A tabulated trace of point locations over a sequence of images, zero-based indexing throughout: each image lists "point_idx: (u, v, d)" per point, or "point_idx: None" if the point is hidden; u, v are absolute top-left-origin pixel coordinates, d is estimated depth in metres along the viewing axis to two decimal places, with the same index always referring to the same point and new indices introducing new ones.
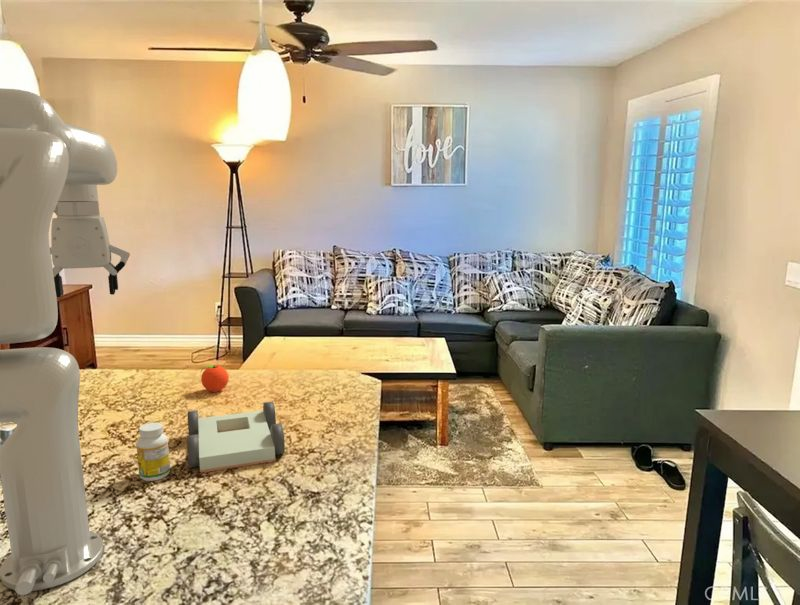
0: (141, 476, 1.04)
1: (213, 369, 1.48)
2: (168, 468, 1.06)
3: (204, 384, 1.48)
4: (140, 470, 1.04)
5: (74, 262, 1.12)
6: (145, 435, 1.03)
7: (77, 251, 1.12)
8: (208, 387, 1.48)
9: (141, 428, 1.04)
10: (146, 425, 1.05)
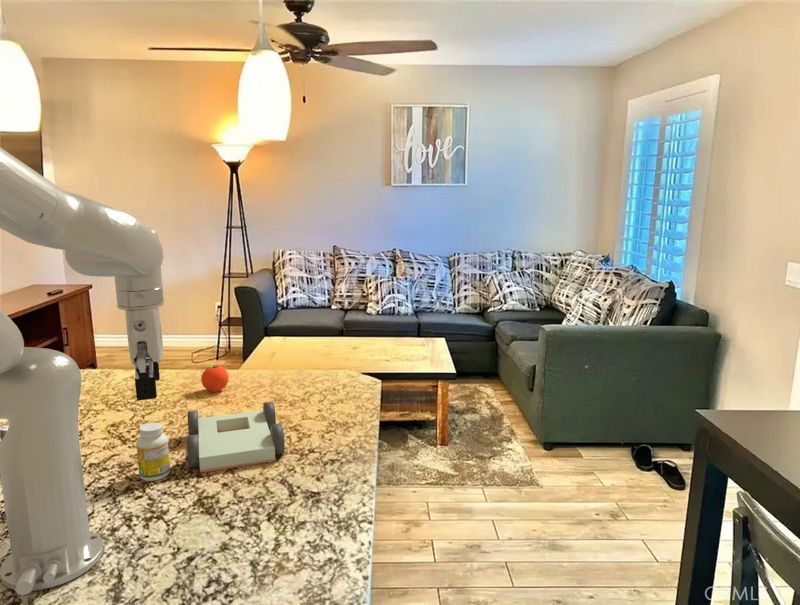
0: (141, 476, 1.04)
1: (213, 369, 1.48)
2: (168, 468, 1.06)
3: (204, 384, 1.48)
4: (140, 470, 1.04)
5: None
6: (145, 435, 1.03)
7: None
8: (208, 387, 1.48)
9: (141, 428, 1.04)
10: (146, 425, 1.05)
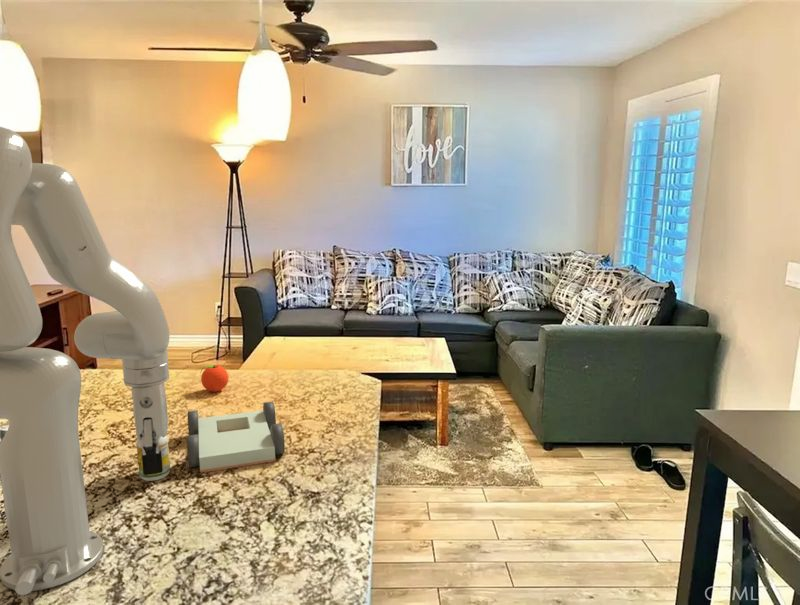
0: (141, 476, 1.04)
1: (213, 369, 1.48)
2: (168, 468, 1.06)
3: (204, 384, 1.48)
4: (140, 470, 1.04)
5: None
6: None
7: None
8: (208, 387, 1.48)
9: None
10: None
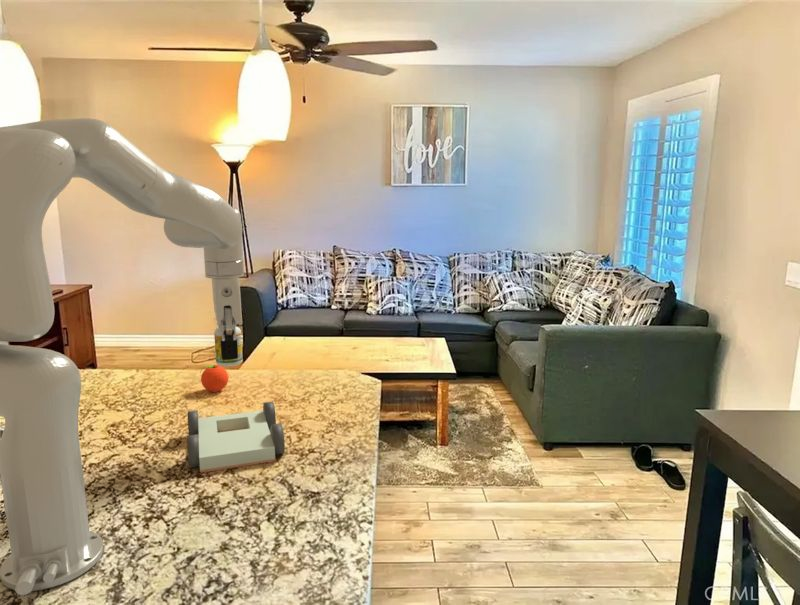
0: (218, 362, 1.17)
1: (213, 369, 1.48)
2: (241, 357, 1.19)
3: (204, 384, 1.48)
4: (217, 357, 1.17)
5: None
6: None
7: None
8: (208, 387, 1.48)
9: None
10: None
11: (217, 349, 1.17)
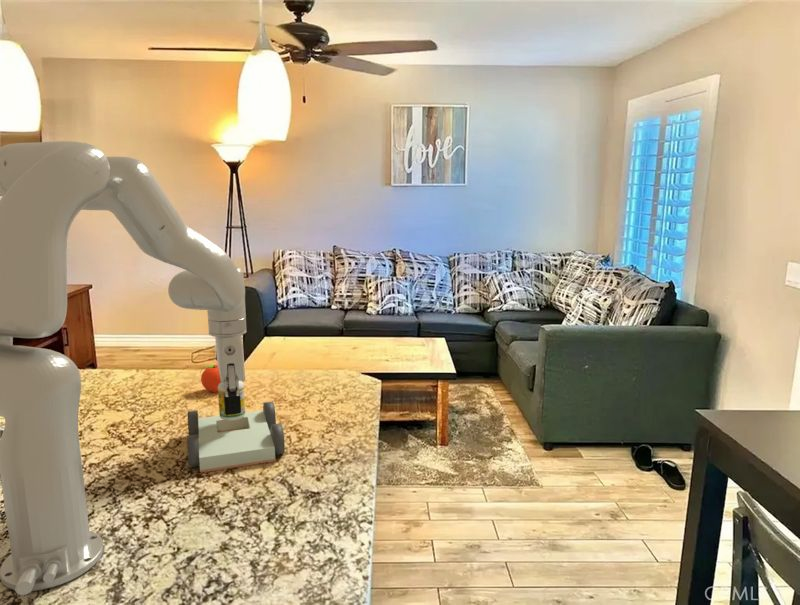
0: (222, 416, 1.19)
1: (213, 369, 1.48)
2: (244, 410, 1.21)
3: (204, 384, 1.48)
4: (221, 411, 1.19)
5: None
6: (226, 380, 1.18)
7: None
8: (208, 387, 1.48)
9: None
10: None
11: (221, 404, 1.19)
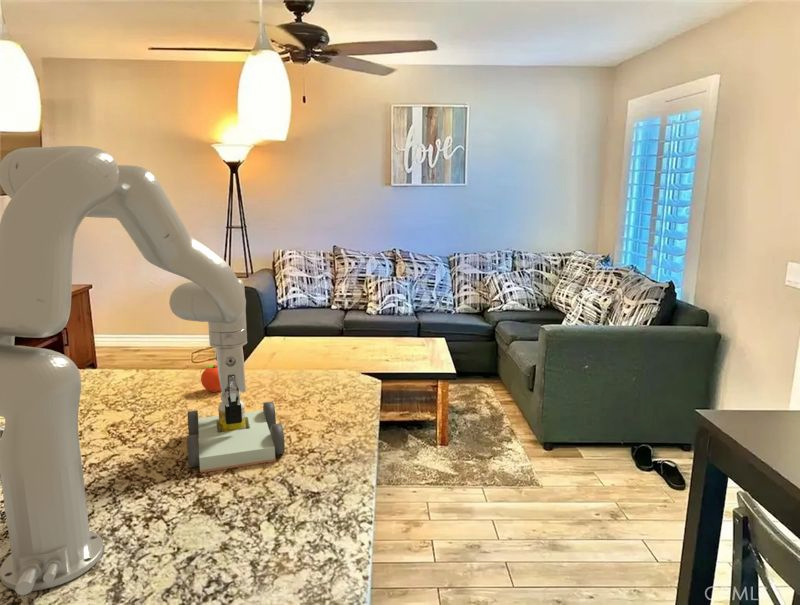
0: None
1: (213, 369, 1.48)
2: None
3: (204, 384, 1.48)
4: (221, 431, 1.20)
5: None
6: None
7: None
8: (208, 387, 1.48)
9: (223, 394, 1.20)
10: None
11: (221, 424, 1.20)
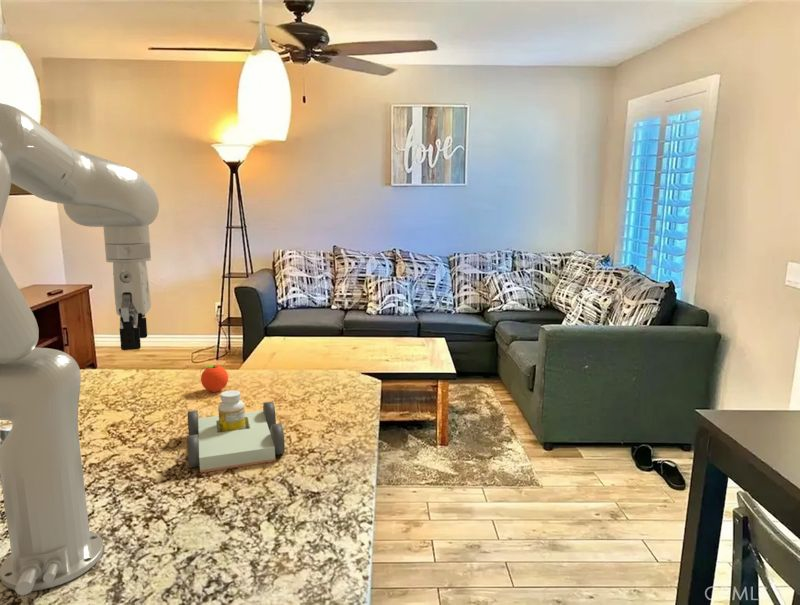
0: None
1: (213, 369, 1.48)
2: None
3: (204, 384, 1.48)
4: (221, 431, 1.20)
5: (147, 306, 1.06)
6: (226, 400, 1.19)
7: (147, 294, 1.06)
8: (208, 387, 1.48)
9: (223, 394, 1.20)
10: (226, 392, 1.21)
11: (221, 424, 1.20)
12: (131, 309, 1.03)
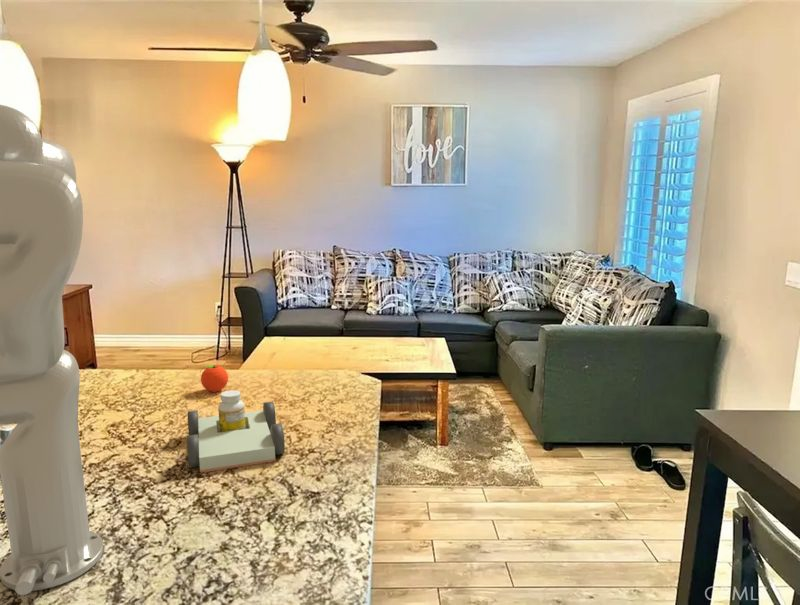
0: None
1: (213, 369, 1.48)
2: None
3: (204, 384, 1.48)
4: (221, 431, 1.20)
5: None
6: (226, 400, 1.19)
7: None
8: (208, 387, 1.48)
9: (223, 394, 1.20)
10: (226, 392, 1.21)
11: (221, 424, 1.20)
12: None
